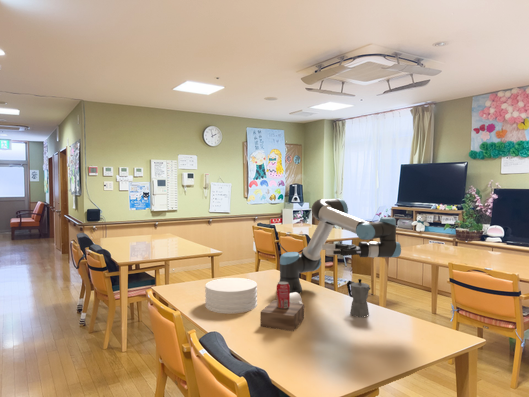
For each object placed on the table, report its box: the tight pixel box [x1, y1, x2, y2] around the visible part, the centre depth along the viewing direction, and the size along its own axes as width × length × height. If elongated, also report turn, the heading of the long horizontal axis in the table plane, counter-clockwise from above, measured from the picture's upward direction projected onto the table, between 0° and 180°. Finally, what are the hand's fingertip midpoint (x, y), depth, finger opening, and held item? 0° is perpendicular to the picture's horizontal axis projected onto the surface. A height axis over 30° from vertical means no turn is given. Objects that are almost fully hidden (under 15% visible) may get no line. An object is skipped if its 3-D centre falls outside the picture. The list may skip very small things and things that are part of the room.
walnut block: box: [259, 300, 305, 332], centre depth 183 cm, size 18×16×7 cm
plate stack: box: [204, 277, 258, 314], centre depth 209 cm, size 28×28×12 cm
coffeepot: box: [346, 278, 371, 318], centre depth 195 cm, size 15×9×18 cm, turn 33°
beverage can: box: [276, 281, 290, 309], centre depth 183 cm, size 6×6×12 cm
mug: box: [290, 292, 303, 304], centre depth 201 cm, size 12×10×8 cm
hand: (324, 249), depth 188 cm, fingers open, 13 cm apart
